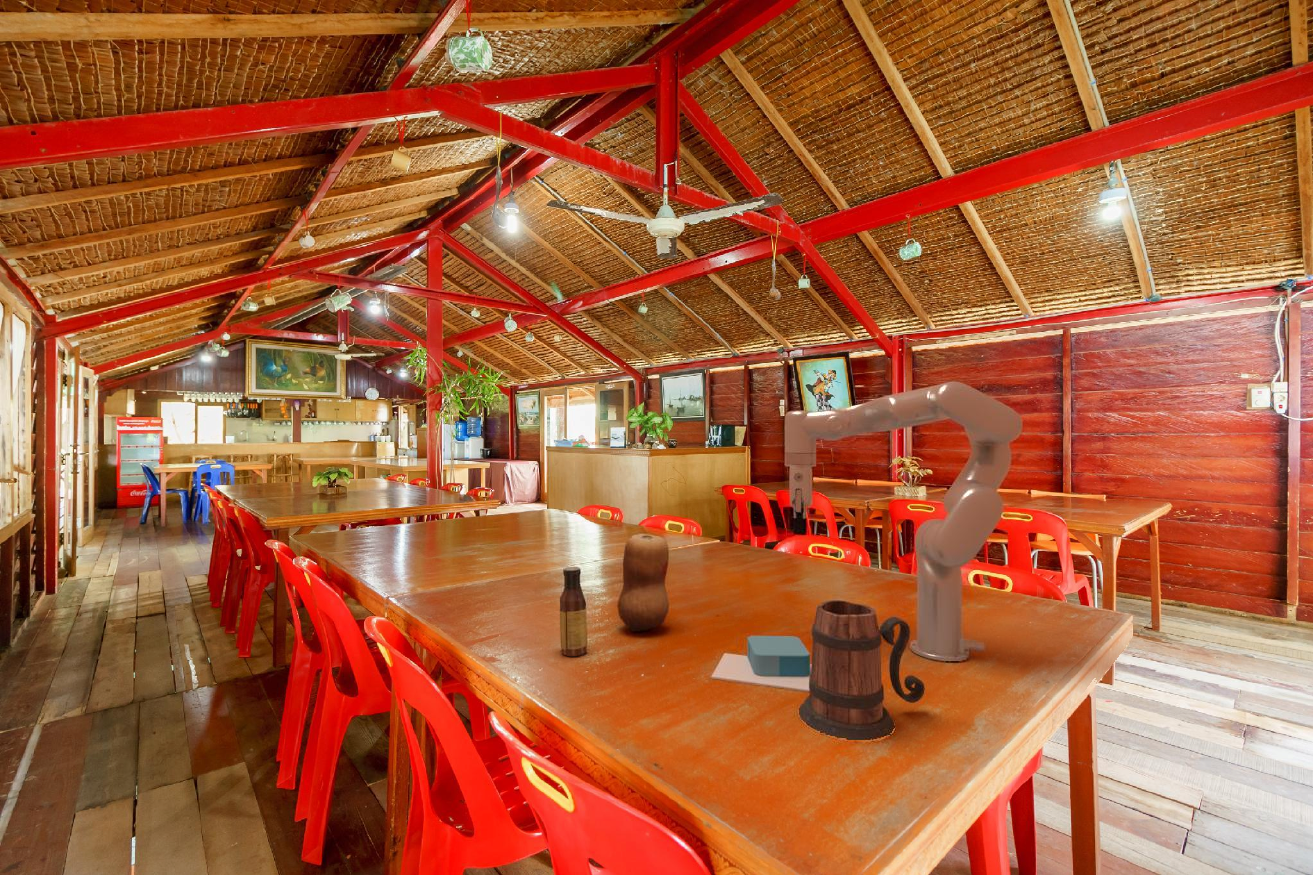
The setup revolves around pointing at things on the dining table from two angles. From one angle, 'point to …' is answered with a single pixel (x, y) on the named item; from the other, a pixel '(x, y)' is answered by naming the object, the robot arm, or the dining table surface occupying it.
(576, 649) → the sauce bottle
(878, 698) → the tankard
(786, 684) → the mat
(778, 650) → the data package
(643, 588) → the butternut squash
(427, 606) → the dining table surface
